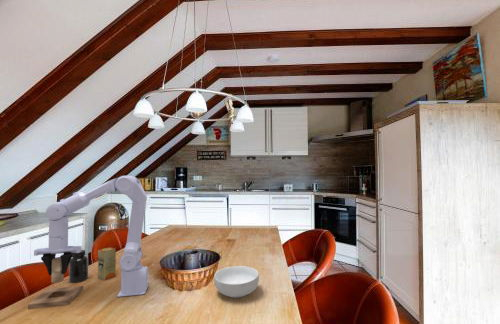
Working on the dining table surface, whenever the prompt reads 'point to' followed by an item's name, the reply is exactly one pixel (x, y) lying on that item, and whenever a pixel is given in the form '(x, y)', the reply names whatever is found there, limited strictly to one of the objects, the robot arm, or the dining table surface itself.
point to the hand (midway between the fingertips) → (57, 273)
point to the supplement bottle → (78, 267)
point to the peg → (57, 270)
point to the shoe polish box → (106, 263)
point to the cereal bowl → (236, 280)
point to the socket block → (48, 301)
